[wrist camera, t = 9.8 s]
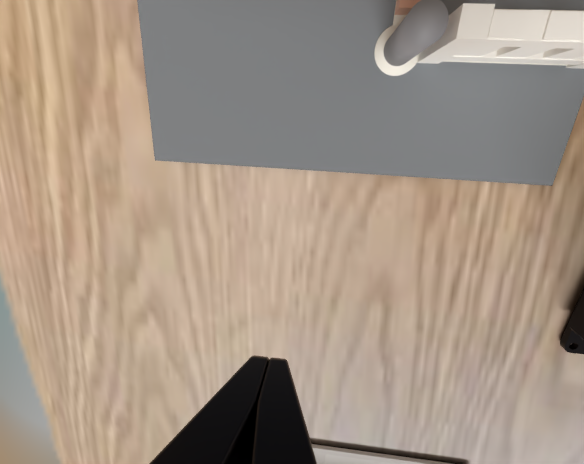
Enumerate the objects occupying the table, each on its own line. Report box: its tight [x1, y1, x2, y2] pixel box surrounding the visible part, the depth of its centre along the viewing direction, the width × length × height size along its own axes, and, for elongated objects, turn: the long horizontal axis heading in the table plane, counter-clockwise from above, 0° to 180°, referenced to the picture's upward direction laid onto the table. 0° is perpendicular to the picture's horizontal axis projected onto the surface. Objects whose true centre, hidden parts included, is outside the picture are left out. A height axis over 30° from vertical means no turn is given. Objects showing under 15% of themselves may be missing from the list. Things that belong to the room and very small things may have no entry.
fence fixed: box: [417, 3, 584, 69], centre depth 12 cm, size 8×1×5 cm, turn 87°
